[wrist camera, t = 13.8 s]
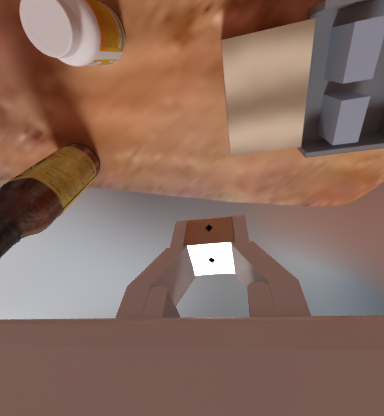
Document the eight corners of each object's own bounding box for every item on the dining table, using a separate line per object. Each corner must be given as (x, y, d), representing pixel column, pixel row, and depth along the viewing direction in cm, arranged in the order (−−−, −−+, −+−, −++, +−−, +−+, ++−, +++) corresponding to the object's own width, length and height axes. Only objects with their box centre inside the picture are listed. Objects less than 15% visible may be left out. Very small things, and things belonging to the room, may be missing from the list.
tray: (309, 8, 21) (326, -1, 18) (427, -21, 19) (469, -36, 16) (295, 146, 29) (305, 157, 25) (377, 135, 27) (399, 146, 24)
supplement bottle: (93, -13, 22) (21, -53, 14) (135, 35, 23) (93, 24, 16) (70, 35, 24) (-1, 25, 16) (110, 75, 26) (63, 83, 18)
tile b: (341, 100, 21) (370, 96, 20) (323, 94, 24) (347, 90, 24) (332, 145, 23) (357, 142, 23) (317, 133, 27) (338, 130, 27)
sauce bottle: (65, 134, 31) (-99, 217, 15) (106, 154, 32) (-5, 251, 16) (60, 169, 35) (-76, 267, 19) (97, 186, 36) (-1, 291, 20)
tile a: (355, 21, 17) (389, 14, 17) (331, 27, 21) (359, 21, 21) (342, 83, 20) (372, 78, 20) (323, 79, 24) (348, 75, 23)
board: (221, 41, 23) (221, 40, 21) (304, 22, 21) (315, 18, 19) (229, 148, 30) (230, 156, 27) (293, 139, 28) (301, 147, 26)
